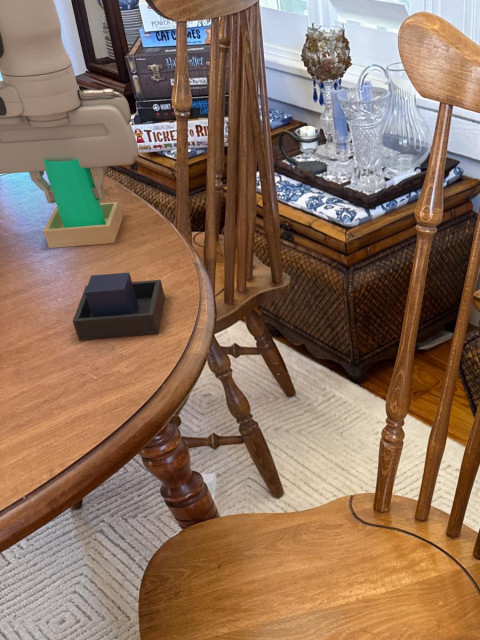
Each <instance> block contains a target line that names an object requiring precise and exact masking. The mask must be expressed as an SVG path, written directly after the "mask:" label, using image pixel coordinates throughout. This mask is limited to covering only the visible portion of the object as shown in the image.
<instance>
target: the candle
mask: <svg viewBox="0 0 480 640" xmlns="http://www.w3.org/2000/svg"><path fill="white" fill-rule="evenodd" d="M44 163H45V166H46V171H45V173H46V176H47V180H48V184H49V185H50V186H51V189H52V192H53V195H54V198H55V201H56V203H55V204H56V206H57V207H58V210H59V214H60V217H61V220H62V223H63V226H64V228H69V227H82V226H95V225H106V222H105V218H104V215H103V212H102V208H101V205H100V203H101V201H100V200H96V199H95V196H94V193H93V189H92V188H93V187H94V186H95V180H94V177H93V172H92V170H91V168H82V167H81V166H80V164H79V161H78V159H74V160H72V161H63V162H56V161H49V160H44Z"/></svg>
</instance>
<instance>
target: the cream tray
mask: <svg viewBox="0 0 480 640" xmlns="http://www.w3.org/2000/svg"><path fill="white" fill-rule="evenodd" d="M100 205H101V208H102V212H103V215H104V218H105V222H106V225H95V226H82V227H69V228H64V226H63V223H62V220H61V217H60V214H59V210H58V207H57V205H56V206H55V207H54V208H53V211H52V213H51V215H50V217H49V218H48V220H47V223H46V224H45V226H44V228H43V230H42V232H43V235H44V238H45V241H46V244H47V246H48V249H54V248H67V247H68V248H69V247H81V246H92V245H93V246H94V245H106V244H115V242H116V238H117V236H118V233H119V230H120V227H121V224H122V221H123V215H122V211H121V207H120V205H119V201H113V202H100Z"/></svg>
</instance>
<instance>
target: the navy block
mask: <svg viewBox="0 0 480 640" xmlns="http://www.w3.org/2000/svg"><path fill="white" fill-rule="evenodd" d="M132 282H133V281H132V278H131V274H130V272H129V271H127V272H117V273H106V274H92V275H90V278H89V280H88V284H87V285H86V286H87V288H86V291H85V294H86V297H87V300H88V303H89V306H90V309H91V313H92V316H93V317H103V316H115V315H126V314H137V312H138V308H139V306H138V302H137V298H136V295H135V291H134V288H133V284H132Z"/></svg>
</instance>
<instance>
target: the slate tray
mask: <svg viewBox="0 0 480 640" xmlns="http://www.w3.org/2000/svg"><path fill="white" fill-rule="evenodd" d="M132 284H133V288H134V291H135V295H136V298H137V302H138V306H139V308H138V312H137V314H126V315H115V316H103V317H93V316H92V313H91V309H90V306H89V303H88V300H87V297H86V294H85V291H86V288H87V286H88V285H85V287H84V289H83V293H82V295H81V298H80V300H79V303H78V306H77V309H76V311H75V313H74V316H73V319H72V324H73V327H74V330H75V332H76V336H77V338H78V341H89V340H100V339H112V338H113V339H114V338H122V337H123V338H124V337H134V336H146V335H156V334H159V331H160V326H161V320H162V315H163V312H164V311H163V310H164V307H165V306H164V305H165V300H166V296H165V291H164V288H163V284H162V280H161V279H151V280H140V281H139V280H138V281H132Z"/></svg>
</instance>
